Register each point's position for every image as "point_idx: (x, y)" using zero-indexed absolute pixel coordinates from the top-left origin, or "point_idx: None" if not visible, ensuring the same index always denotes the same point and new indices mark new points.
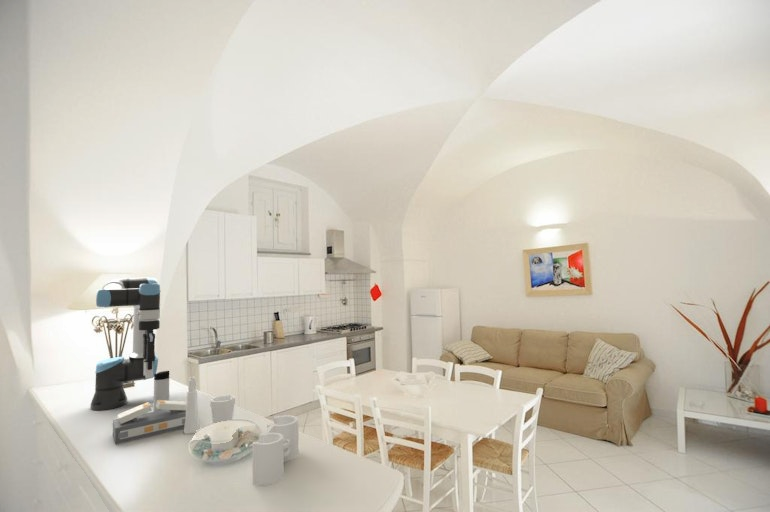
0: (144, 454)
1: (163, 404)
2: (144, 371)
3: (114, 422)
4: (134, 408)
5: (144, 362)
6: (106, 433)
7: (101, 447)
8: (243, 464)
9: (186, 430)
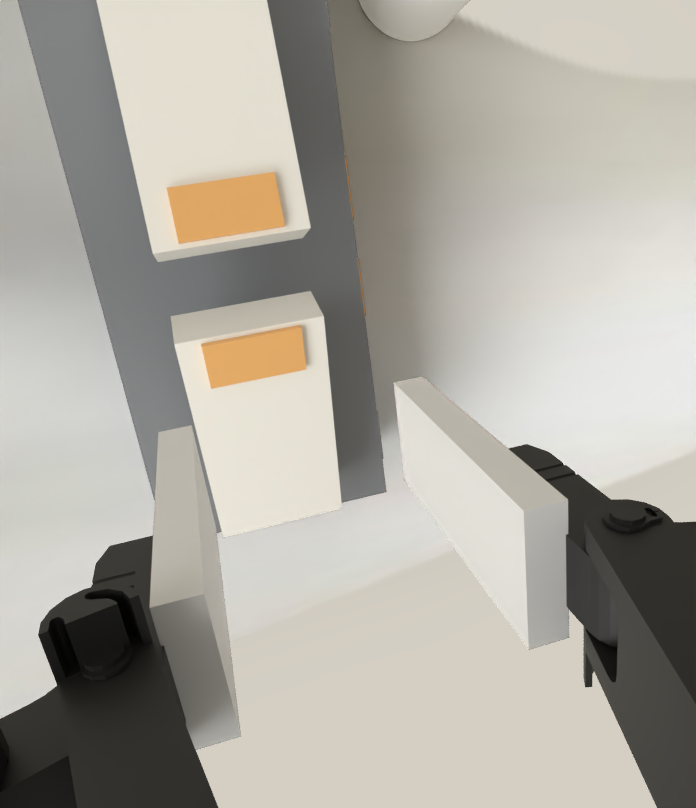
0: (609, 284)
1: (303, 191)
2: (217, 554)
3: None
4: (229, 438)
5: (231, 677)
6: (110, 533)
7: (361, 506)
8: None
9: (453, 17)
